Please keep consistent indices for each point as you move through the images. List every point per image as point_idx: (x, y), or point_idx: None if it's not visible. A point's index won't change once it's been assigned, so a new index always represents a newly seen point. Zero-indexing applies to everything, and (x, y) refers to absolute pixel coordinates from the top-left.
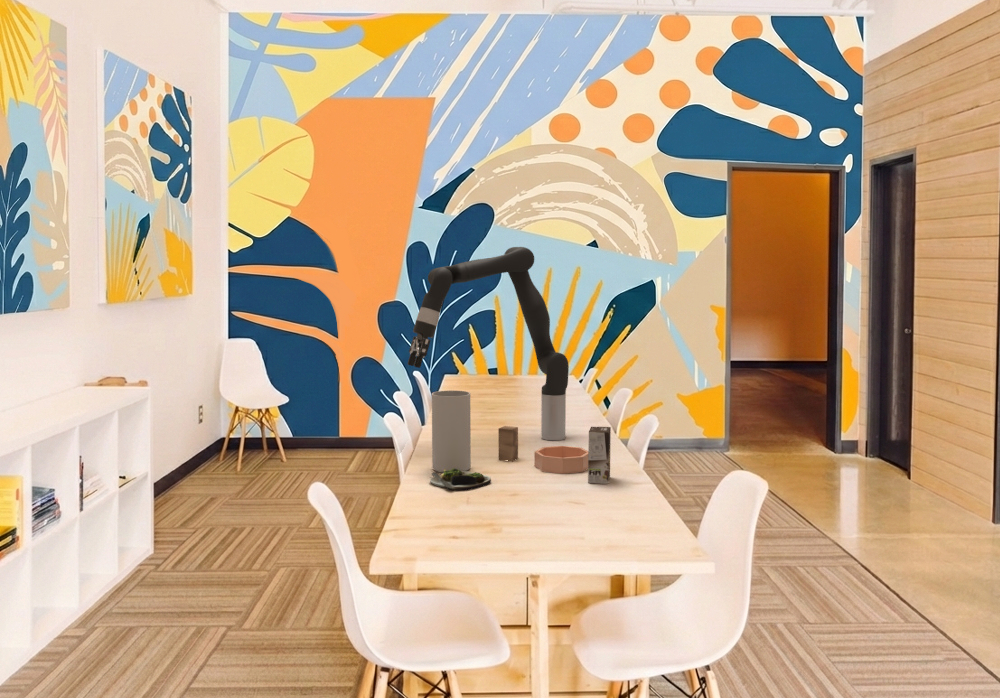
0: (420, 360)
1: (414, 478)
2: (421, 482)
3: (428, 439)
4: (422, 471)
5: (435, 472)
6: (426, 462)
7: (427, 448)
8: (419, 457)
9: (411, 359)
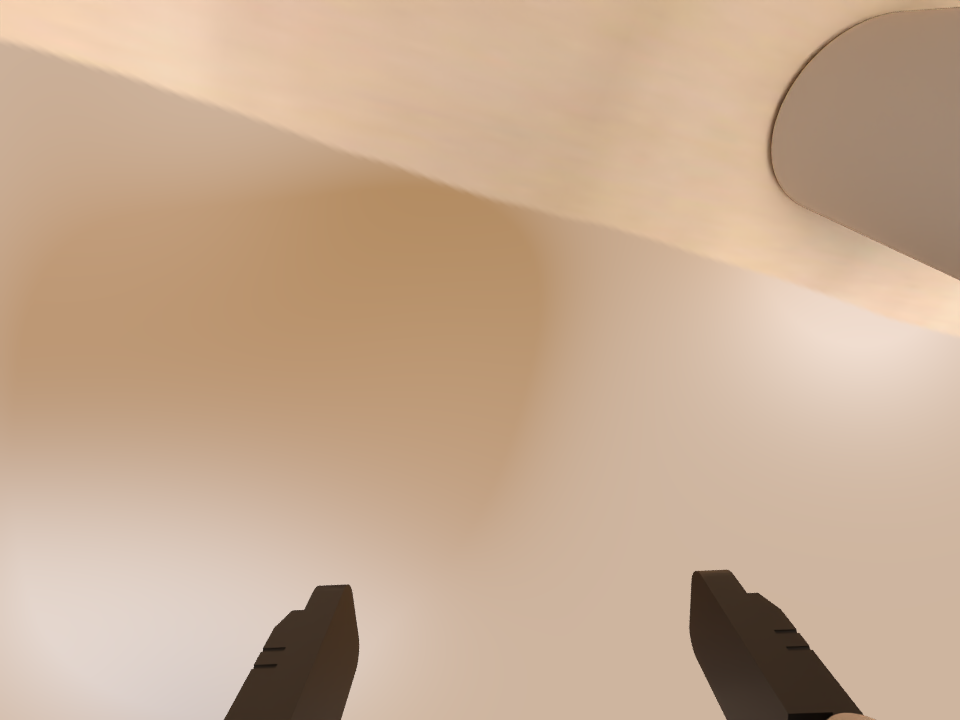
0: (829, 693)
1: (878, 298)
2: (943, 285)
3: (169, 74)
4: (808, 252)
5: None
6: (680, 205)
7: (405, 136)
8: (578, 216)
9: (328, 709)
